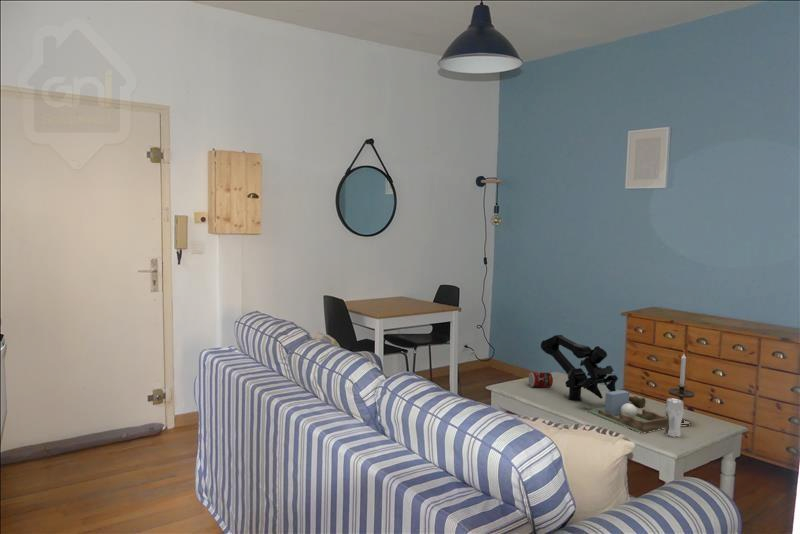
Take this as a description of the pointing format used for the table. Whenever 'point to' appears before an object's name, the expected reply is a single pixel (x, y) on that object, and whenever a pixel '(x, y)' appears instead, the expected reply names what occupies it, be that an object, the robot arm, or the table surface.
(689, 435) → the table surface
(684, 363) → the candlestick
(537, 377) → the canned food
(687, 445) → the table surface
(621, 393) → the block
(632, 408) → the ball
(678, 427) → the beer glass
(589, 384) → the robot arm
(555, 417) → the table surface
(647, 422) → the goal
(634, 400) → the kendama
